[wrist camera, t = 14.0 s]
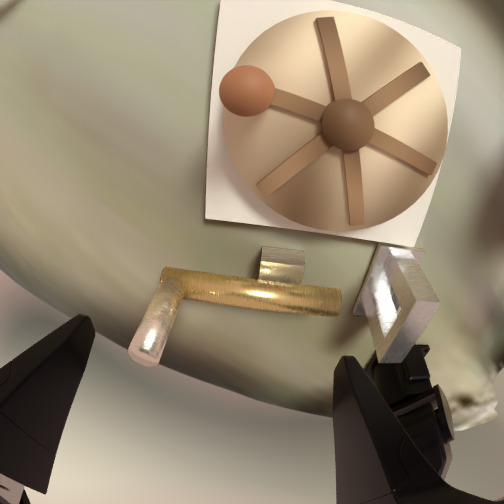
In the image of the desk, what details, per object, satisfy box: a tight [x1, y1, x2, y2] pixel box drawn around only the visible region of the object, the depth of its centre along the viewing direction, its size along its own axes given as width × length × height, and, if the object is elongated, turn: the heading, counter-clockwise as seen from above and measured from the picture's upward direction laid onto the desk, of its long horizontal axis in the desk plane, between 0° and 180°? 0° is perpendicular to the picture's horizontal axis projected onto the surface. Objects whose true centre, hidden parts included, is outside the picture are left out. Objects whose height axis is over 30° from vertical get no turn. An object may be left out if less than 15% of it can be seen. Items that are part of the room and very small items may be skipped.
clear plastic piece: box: [258, 242, 440, 363], centre depth 19 cm, size 7×12×6 cm, turn 85°
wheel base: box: [205, 0, 461, 247], centre depth 15 cm, size 15×15×1 cm
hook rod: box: [128, 267, 342, 367], centre depth 17 cm, size 2×12×8 cm, turn 85°
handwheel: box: [219, 10, 448, 231], centre depth 12 cm, size 13×13×6 cm
